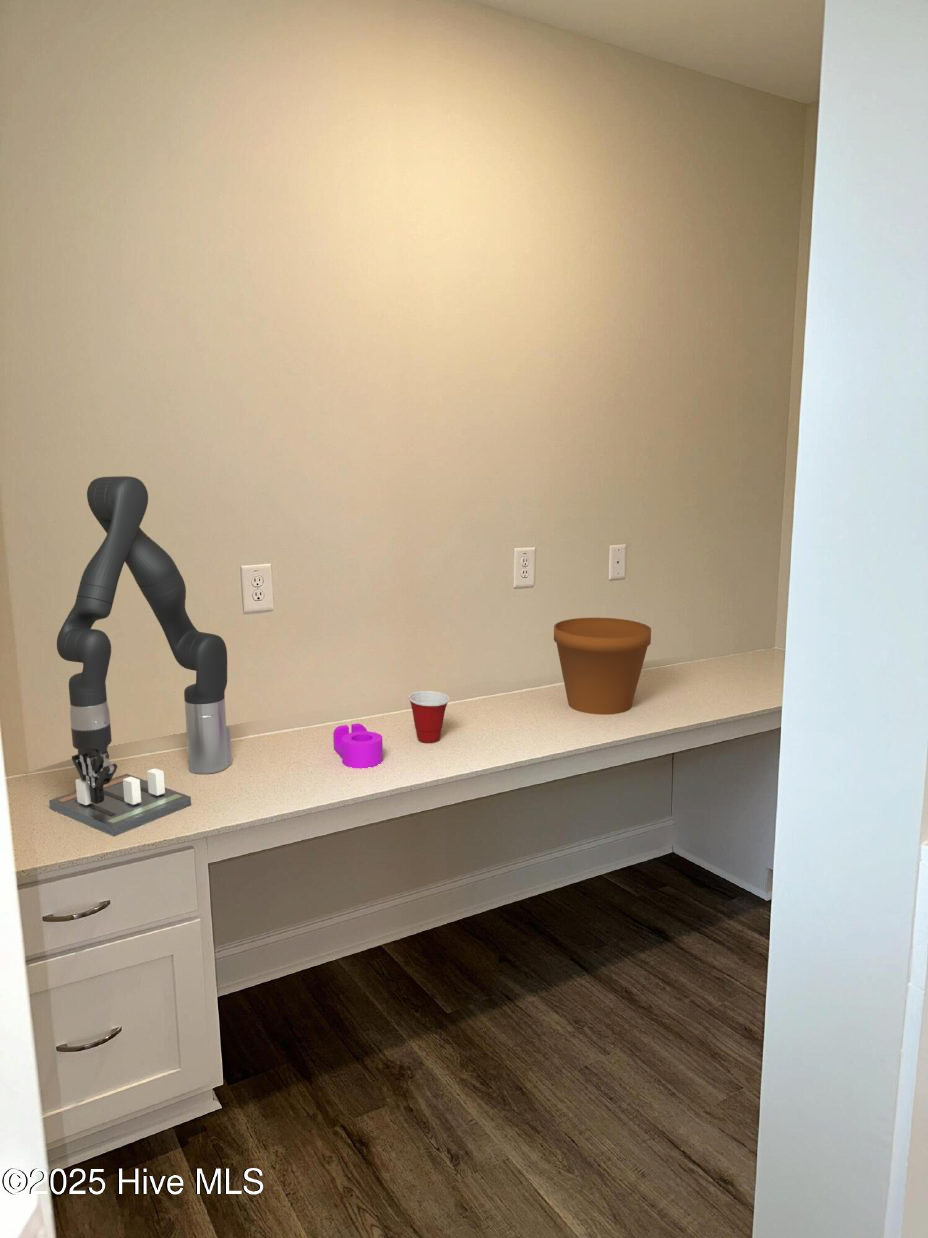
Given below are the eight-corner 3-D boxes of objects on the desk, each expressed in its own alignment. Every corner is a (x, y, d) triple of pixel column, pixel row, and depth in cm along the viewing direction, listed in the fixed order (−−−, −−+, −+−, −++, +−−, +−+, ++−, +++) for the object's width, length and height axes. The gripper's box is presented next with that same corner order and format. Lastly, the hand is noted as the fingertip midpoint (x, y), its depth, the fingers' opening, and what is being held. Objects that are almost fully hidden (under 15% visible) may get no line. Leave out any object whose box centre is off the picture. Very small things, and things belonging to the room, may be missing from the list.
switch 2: (156, 789, 202) (154, 768, 201) (164, 792, 200) (163, 771, 199) (148, 792, 200) (147, 771, 199) (157, 795, 198) (155, 774, 197)
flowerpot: (589, 725, 253) (592, 642, 248) (534, 699, 277) (535, 623, 272) (667, 710, 266) (671, 631, 262) (608, 687, 290) (610, 614, 286)
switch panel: (127, 781, 213) (126, 773, 212) (191, 805, 199) (190, 796, 199) (50, 809, 197) (49, 799, 197) (113, 836, 184) (113, 826, 184)
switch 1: (86, 799, 197) (84, 777, 196) (94, 802, 195) (92, 780, 194) (77, 802, 195) (75, 779, 194) (85, 805, 193) (83, 783, 192)
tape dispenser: (388, 766, 224) (387, 741, 222) (349, 771, 220) (348, 747, 218) (367, 745, 238) (367, 722, 237) (330, 750, 234) (330, 727, 233)
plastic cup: (432, 749, 234) (432, 704, 231) (400, 741, 240) (399, 697, 238) (458, 738, 242) (458, 694, 240) (426, 730, 249) (426, 687, 246)
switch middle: (132, 798, 197) (130, 776, 196) (141, 801, 195) (139, 779, 194) (124, 801, 195) (122, 779, 194) (133, 804, 194) (131, 782, 193)
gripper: (126, 724, 188) (132, 803, 192) (88, 712, 196) (94, 789, 199) (93, 734, 182) (100, 815, 186) (55, 722, 190) (62, 800, 193)
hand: (97, 801), depth 193 cm, fingers closed
